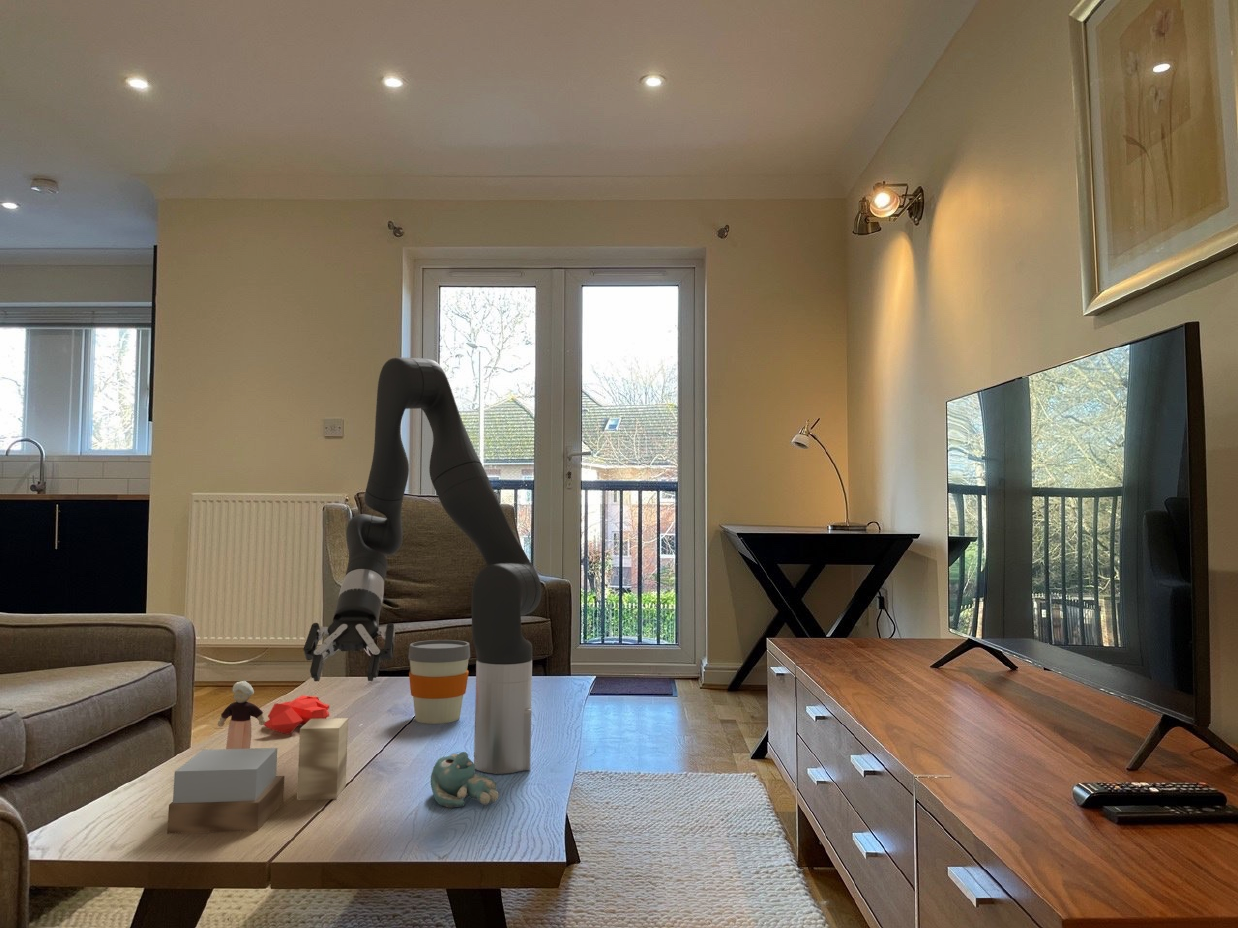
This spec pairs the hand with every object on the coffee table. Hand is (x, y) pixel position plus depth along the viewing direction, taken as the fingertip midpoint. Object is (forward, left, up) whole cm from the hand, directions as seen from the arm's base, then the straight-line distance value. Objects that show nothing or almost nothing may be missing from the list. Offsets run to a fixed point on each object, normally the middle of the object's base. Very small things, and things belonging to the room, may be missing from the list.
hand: (343, 678), depth 130 cm
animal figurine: (+14, -28, -15) cm, 34 cm away
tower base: (+10, +20, -15) cm, 27 cm away
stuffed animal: (-21, +16, -15) cm, 30 cm away
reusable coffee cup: (-12, -34, -15) cm, 39 cm away
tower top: (+10, +20, -11) cm, 25 cm away
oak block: (0, +11, -14) cm, 18 cm away
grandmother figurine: (+18, -8, -15) cm, 24 cm away
